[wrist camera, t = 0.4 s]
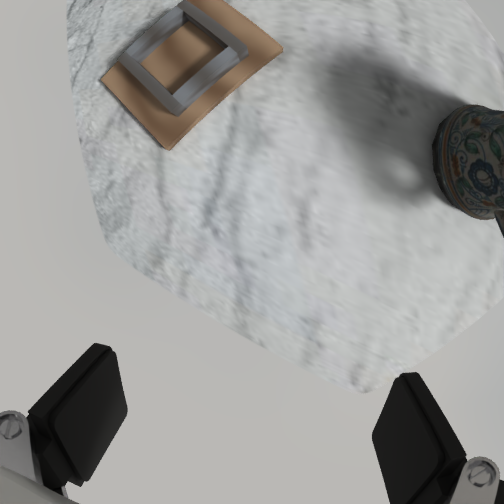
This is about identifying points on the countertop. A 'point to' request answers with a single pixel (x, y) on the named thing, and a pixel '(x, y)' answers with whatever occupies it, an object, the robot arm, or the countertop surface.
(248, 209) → the countertop surface
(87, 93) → the countertop surface
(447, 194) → the beer stein
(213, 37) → the shaker holder
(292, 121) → the countertop surface
